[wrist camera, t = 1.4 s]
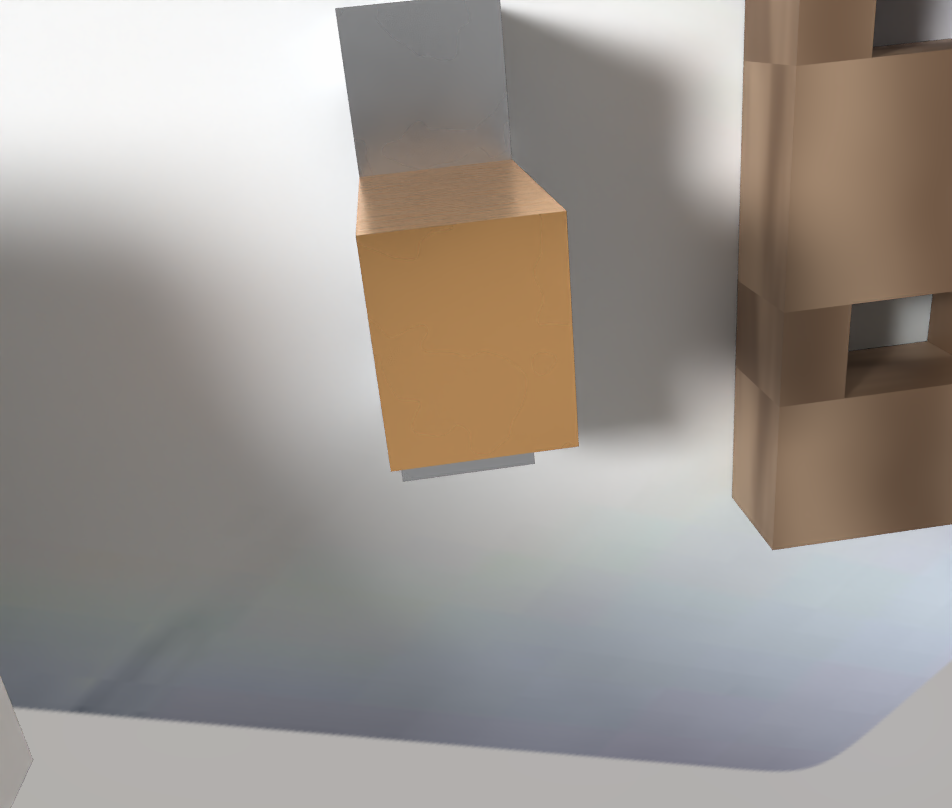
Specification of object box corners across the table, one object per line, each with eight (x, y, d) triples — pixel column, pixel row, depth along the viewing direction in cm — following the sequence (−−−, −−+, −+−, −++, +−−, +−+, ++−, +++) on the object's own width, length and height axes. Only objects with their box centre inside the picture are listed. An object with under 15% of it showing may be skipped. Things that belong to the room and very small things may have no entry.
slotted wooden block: (732, 497, 36) (772, 550, 33) (752, -275, 26) (815, -324, 22) (964, 464, 37) (1029, 512, 33) (1075, -301, 27) (1187, -353, 23)
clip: (396, 392, 33) (414, 626, 20) (343, 12, 28) (320, 1, 15) (502, 379, 33) (586, 601, 20) (469, -1, 28) (554, -23, 15)
